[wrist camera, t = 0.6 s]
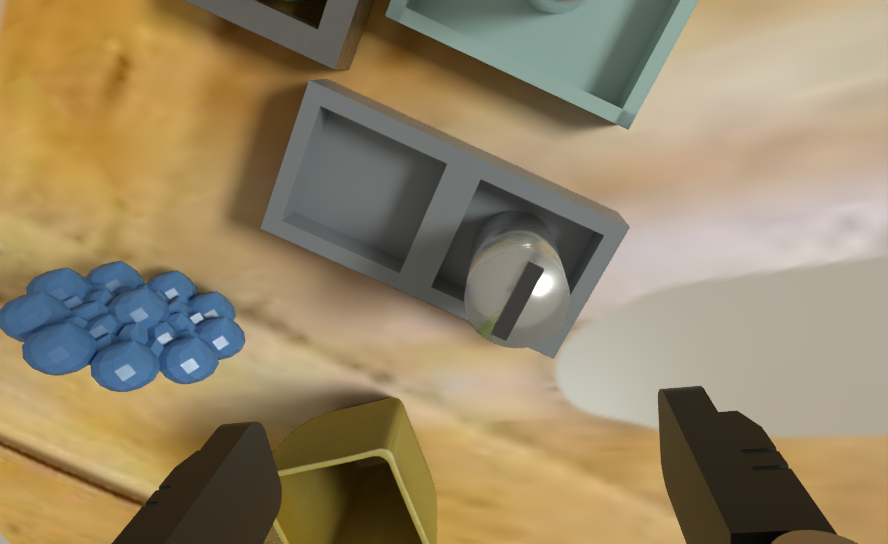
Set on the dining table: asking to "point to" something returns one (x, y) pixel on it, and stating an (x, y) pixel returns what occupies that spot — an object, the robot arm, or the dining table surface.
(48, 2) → the dining table surface
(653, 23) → the tray
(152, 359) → the grapes
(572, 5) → the cylinder
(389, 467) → the flower pot
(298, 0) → the button
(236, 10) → the grey button housing
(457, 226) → the tray
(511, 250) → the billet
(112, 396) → the dining table surface
